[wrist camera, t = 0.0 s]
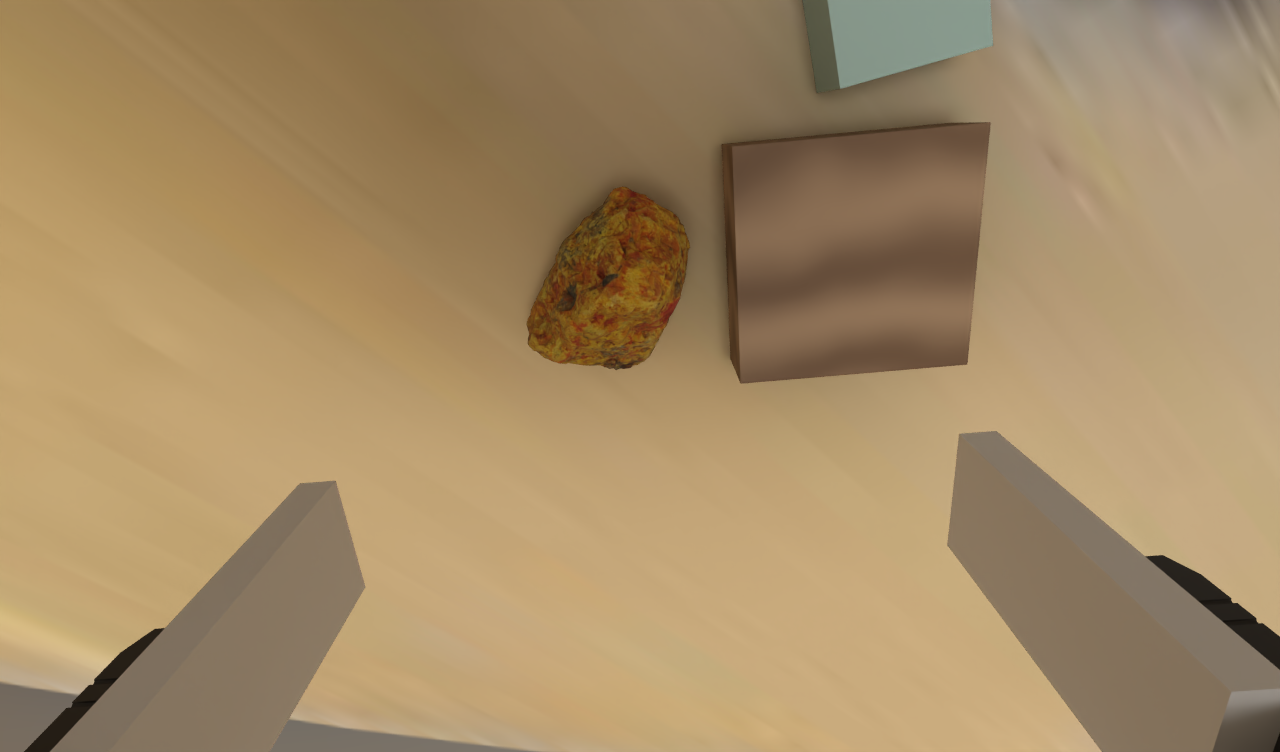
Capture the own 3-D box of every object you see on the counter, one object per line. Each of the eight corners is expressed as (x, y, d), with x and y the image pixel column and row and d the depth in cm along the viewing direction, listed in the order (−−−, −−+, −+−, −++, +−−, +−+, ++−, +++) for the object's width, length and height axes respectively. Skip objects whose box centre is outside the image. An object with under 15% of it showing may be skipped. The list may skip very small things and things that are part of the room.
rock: (678, 272, 47) (636, 403, 44) (567, 233, 46) (518, 362, 44) (717, 197, 36) (664, 365, 33) (573, 145, 35) (508, 310, 33)
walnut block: (721, 144, 40) (732, 146, 36) (949, 122, 40) (990, 122, 35) (729, 357, 45) (740, 383, 41) (932, 339, 45) (967, 364, 40)
